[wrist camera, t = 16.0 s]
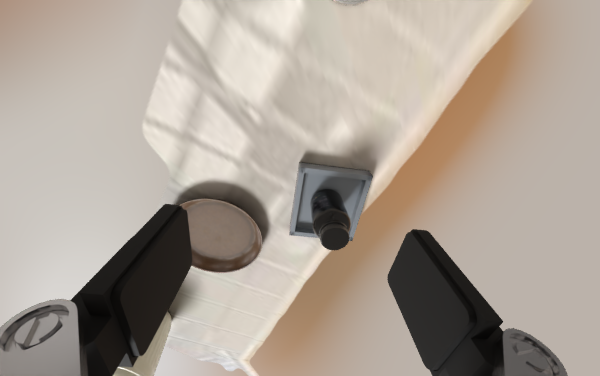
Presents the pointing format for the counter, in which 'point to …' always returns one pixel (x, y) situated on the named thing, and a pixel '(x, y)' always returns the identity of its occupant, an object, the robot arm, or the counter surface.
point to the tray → (327, 177)
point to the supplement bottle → (330, 219)
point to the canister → (149, 353)
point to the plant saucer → (221, 236)
